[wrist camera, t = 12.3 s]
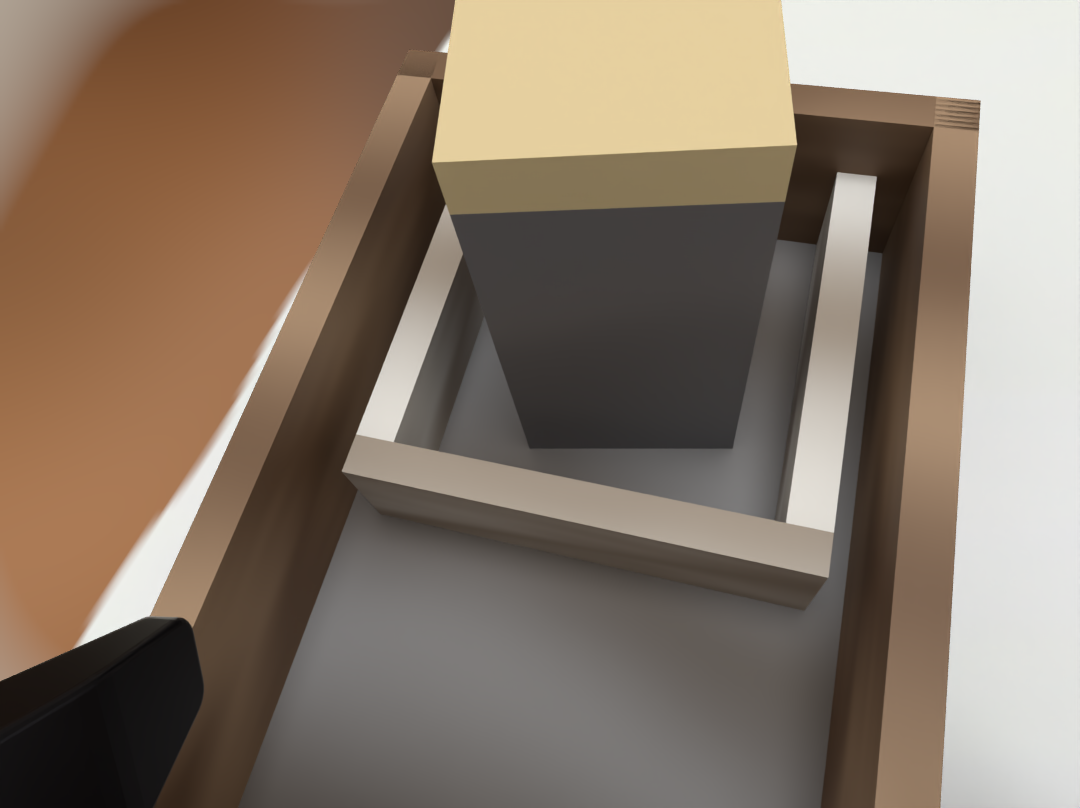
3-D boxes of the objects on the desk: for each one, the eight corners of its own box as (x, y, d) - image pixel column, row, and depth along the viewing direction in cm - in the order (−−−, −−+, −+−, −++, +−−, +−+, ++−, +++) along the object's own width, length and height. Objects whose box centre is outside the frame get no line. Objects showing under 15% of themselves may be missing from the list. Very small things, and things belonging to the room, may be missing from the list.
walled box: (812, 1352, 12) (893, 1626, 8) (112, 1056, 15) (-94, 1148, 11) (915, 243, 20) (980, 100, 16) (452, 185, 23) (409, 49, 19)
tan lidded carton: (732, 448, 18) (797, 144, 10) (529, 448, 18) (432, 163, 10) (723, 278, 20) (770, -92, 12) (540, 283, 20) (465, -66, 12)
